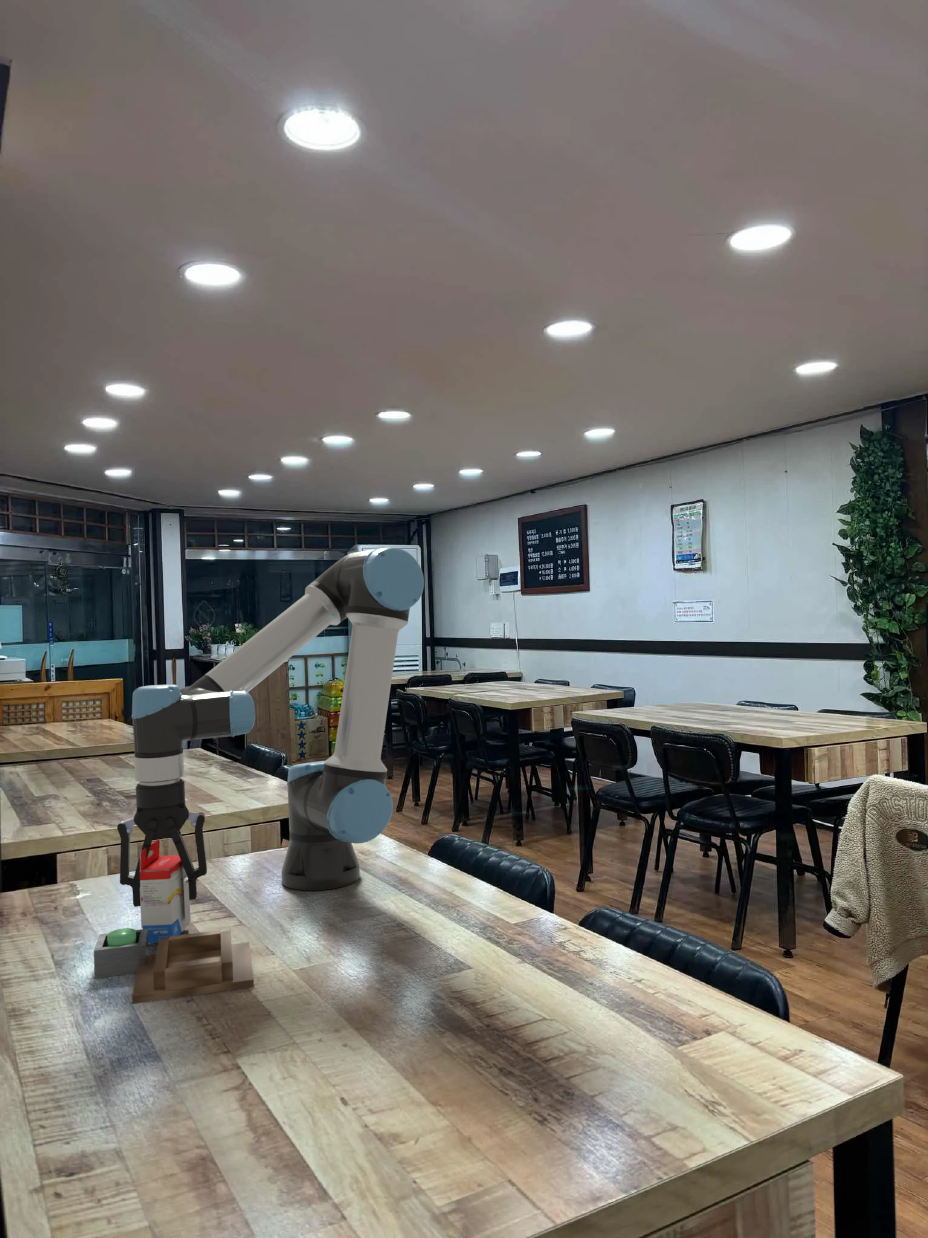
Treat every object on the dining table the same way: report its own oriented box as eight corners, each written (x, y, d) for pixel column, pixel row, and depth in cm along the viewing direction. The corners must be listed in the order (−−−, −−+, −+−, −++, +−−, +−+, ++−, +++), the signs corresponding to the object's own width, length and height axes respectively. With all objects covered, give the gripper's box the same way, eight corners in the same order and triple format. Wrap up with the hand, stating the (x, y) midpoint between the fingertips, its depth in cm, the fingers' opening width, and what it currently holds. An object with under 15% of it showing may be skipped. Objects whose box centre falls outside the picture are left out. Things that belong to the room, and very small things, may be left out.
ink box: (173, 943, 140) (168, 851, 140) (142, 944, 140) (137, 852, 140) (190, 924, 149) (186, 837, 148) (161, 925, 149) (157, 838, 148)
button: (137, 945, 136) (136, 927, 136) (135, 954, 132) (134, 936, 132) (109, 948, 134) (108, 930, 134) (106, 958, 131) (105, 939, 131)
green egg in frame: (148, 954, 137) (148, 928, 137) (145, 971, 131) (144, 944, 131) (100, 960, 136) (99, 934, 135) (94, 978, 129) (93, 951, 129)
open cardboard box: (249, 948, 139) (248, 926, 139) (253, 986, 124) (253, 962, 124) (140, 962, 134) (139, 939, 134) (132, 1003, 120) (131, 978, 120)
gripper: (220, 771, 150) (226, 907, 151) (100, 782, 145) (106, 922, 145) (220, 779, 143) (227, 922, 143) (94, 790, 138) (101, 938, 138)
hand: (166, 922), depth 144 cm, fingers closed on ink box, 6 cm apart
